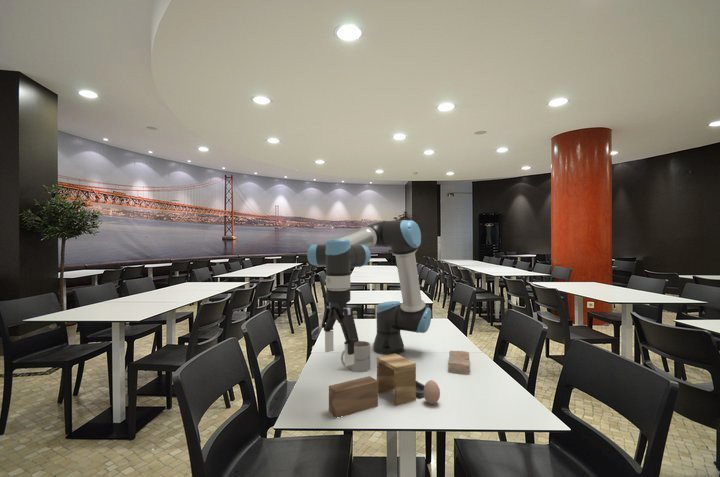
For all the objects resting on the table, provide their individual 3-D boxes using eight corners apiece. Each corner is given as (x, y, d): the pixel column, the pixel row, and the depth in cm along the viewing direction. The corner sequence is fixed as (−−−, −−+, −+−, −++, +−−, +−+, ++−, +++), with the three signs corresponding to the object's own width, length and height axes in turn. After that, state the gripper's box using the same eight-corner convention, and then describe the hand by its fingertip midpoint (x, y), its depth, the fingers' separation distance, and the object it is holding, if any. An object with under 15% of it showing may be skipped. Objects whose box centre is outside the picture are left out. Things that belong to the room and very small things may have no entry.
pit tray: (398, 386, 121) (398, 381, 121) (411, 383, 124) (411, 378, 124) (418, 398, 111) (418, 393, 111) (432, 394, 114) (432, 389, 114)
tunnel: (376, 392, 116) (376, 357, 116) (395, 387, 120) (395, 353, 120) (396, 406, 106) (396, 367, 106) (415, 400, 110) (415, 363, 111)
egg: (440, 408, 105) (440, 384, 105) (423, 406, 106) (423, 383, 106) (439, 400, 110) (439, 377, 110) (423, 398, 111) (423, 376, 111)
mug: (369, 364, 143) (369, 340, 144) (371, 371, 135) (371, 346, 135) (340, 365, 142) (340, 341, 143) (341, 372, 134) (341, 347, 134)
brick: (469, 376, 131) (469, 364, 131) (447, 373, 134) (447, 361, 134) (469, 362, 147) (469, 351, 147) (449, 360, 150) (449, 349, 150)
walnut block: (328, 411, 103) (328, 385, 103) (369, 400, 111) (369, 376, 111) (335, 419, 99) (336, 391, 99) (378, 406, 106) (378, 381, 106)
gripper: (311, 285, 111) (311, 348, 111) (346, 295, 90) (347, 374, 90) (331, 283, 115) (332, 344, 115) (370, 293, 94) (370, 368, 94)
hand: (338, 357), depth 103 cm, fingers open, 13 cm apart
